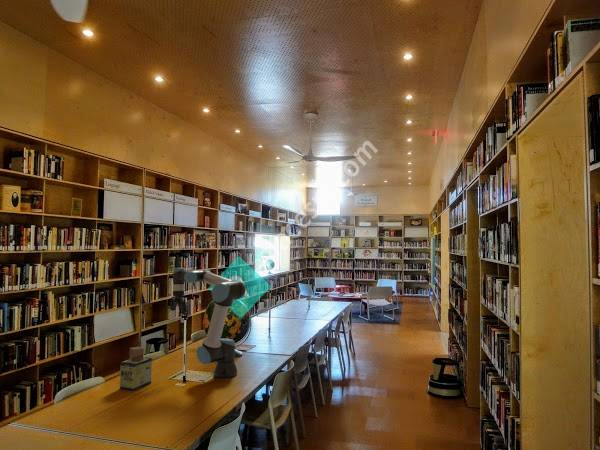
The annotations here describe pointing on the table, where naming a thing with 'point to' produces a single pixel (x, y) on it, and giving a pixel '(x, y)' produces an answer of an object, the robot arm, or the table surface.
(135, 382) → the protein box
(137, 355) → the walnut block
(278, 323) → the table surface
